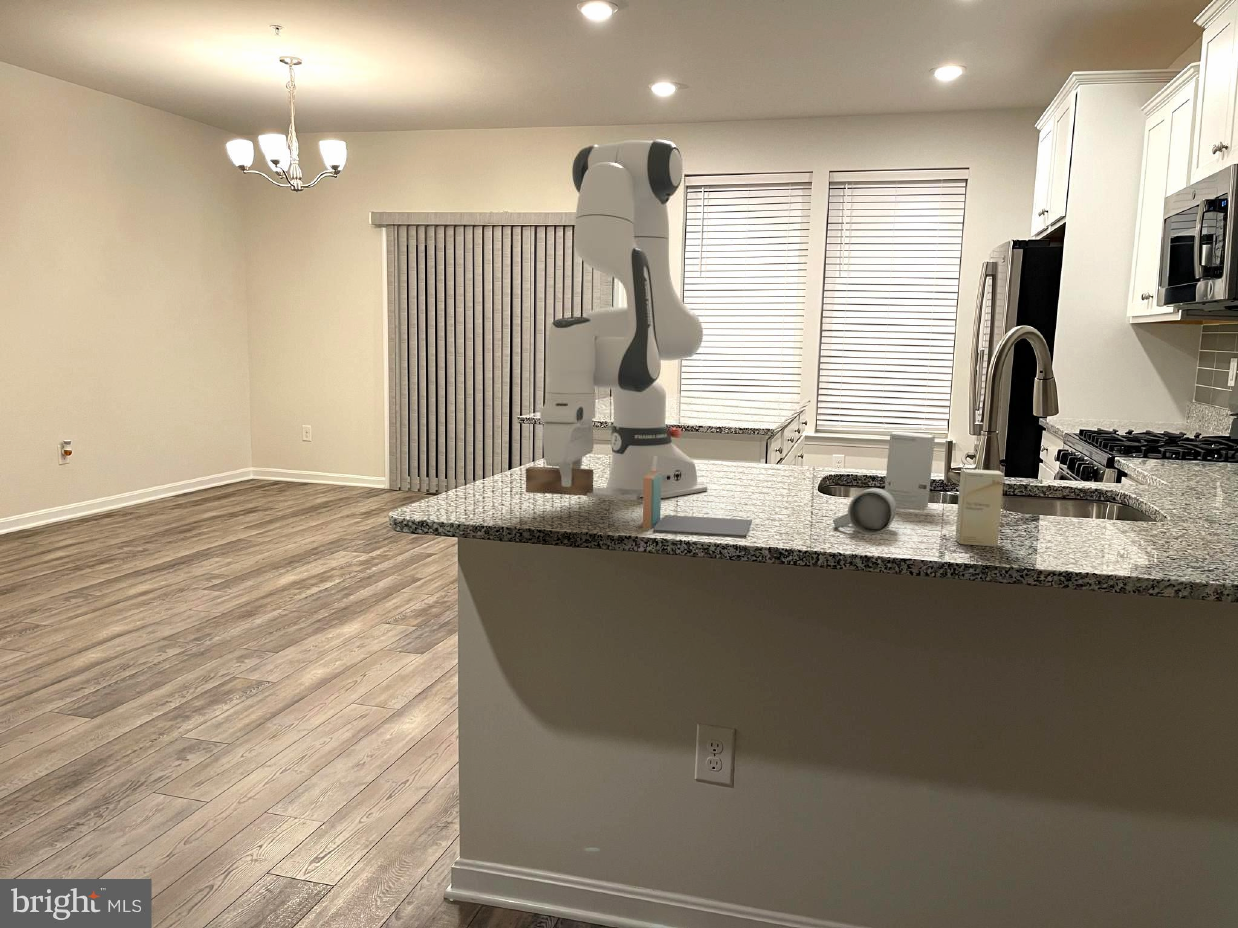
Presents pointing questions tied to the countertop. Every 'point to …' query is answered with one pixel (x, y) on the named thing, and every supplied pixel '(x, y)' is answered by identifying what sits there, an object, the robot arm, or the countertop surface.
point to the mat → (703, 526)
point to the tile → (651, 499)
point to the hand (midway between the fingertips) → (570, 484)
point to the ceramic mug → (869, 512)
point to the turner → (582, 485)
